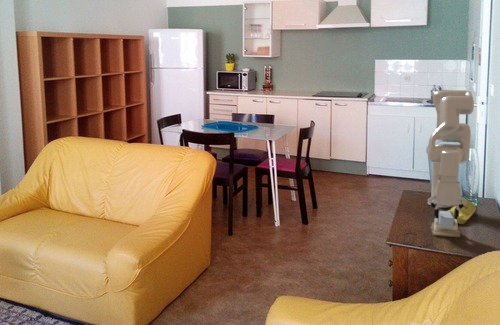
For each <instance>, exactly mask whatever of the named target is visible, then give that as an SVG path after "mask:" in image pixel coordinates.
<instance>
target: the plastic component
mask: <svg viewBox="0 0 500 325" xmlns="http://www.w3.org/2000/svg"><path fill="white" fill-rule="evenodd" d="M463 198H464V199H465V200H466V201H467V203H466V204H465V205H464V206H463V207H462V208H461V209H460V210H459V217H457V219H456V220H457V222H458V224H459V225H464V224H465V223H467V221H468V220H470V218H471V217H472V216H473V215H474V213H475V212H476V209H477V207H476V205H475V204H474V202H471V201H470V200H469V199H466V198H465V197H463ZM462 202H463V201H462V200H461V201H460V204H461V203H462ZM455 208H456V207H455V206H452V207H450V209H448V210H447V211H450V213H451V215H452V217H453V219H455V218H454V211H455Z"/></svg>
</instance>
